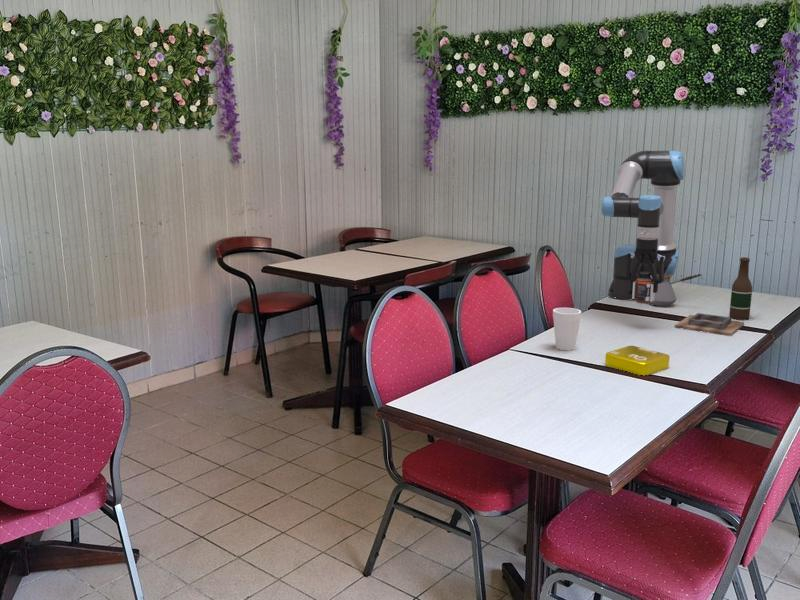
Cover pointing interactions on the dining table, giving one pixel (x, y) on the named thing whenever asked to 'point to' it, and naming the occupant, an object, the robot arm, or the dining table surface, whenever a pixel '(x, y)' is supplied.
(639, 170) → the robot arm
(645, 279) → the supplement bottle
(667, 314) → the dining table surface
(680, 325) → the holder board
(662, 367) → the element tile
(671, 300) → the coffee pot
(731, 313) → the beer bottle
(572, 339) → the foam cup
